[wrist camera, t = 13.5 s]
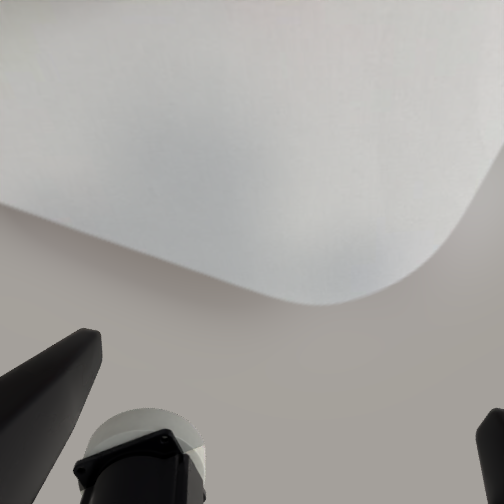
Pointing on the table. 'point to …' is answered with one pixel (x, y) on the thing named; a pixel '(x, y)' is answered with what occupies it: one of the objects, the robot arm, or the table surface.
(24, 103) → the table surface
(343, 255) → the table surface
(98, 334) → the robot arm
